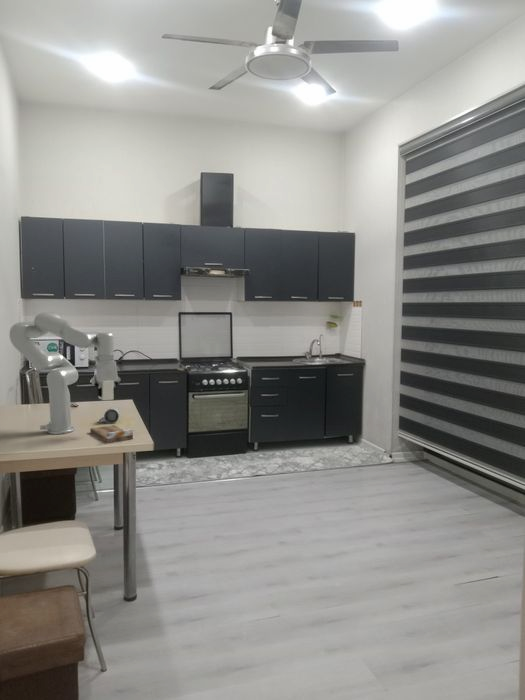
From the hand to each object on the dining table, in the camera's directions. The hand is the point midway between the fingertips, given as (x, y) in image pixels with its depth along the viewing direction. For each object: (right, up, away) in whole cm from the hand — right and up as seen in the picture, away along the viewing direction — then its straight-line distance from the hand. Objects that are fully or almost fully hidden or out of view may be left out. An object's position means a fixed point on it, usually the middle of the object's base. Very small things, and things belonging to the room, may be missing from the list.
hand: (106, 395), depth 247 cm
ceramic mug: (-6, -17, +26) cm, 32 cm away
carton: (0, -2, 0) cm, 2 cm away
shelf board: (+3, -19, -2) cm, 20 cm away
